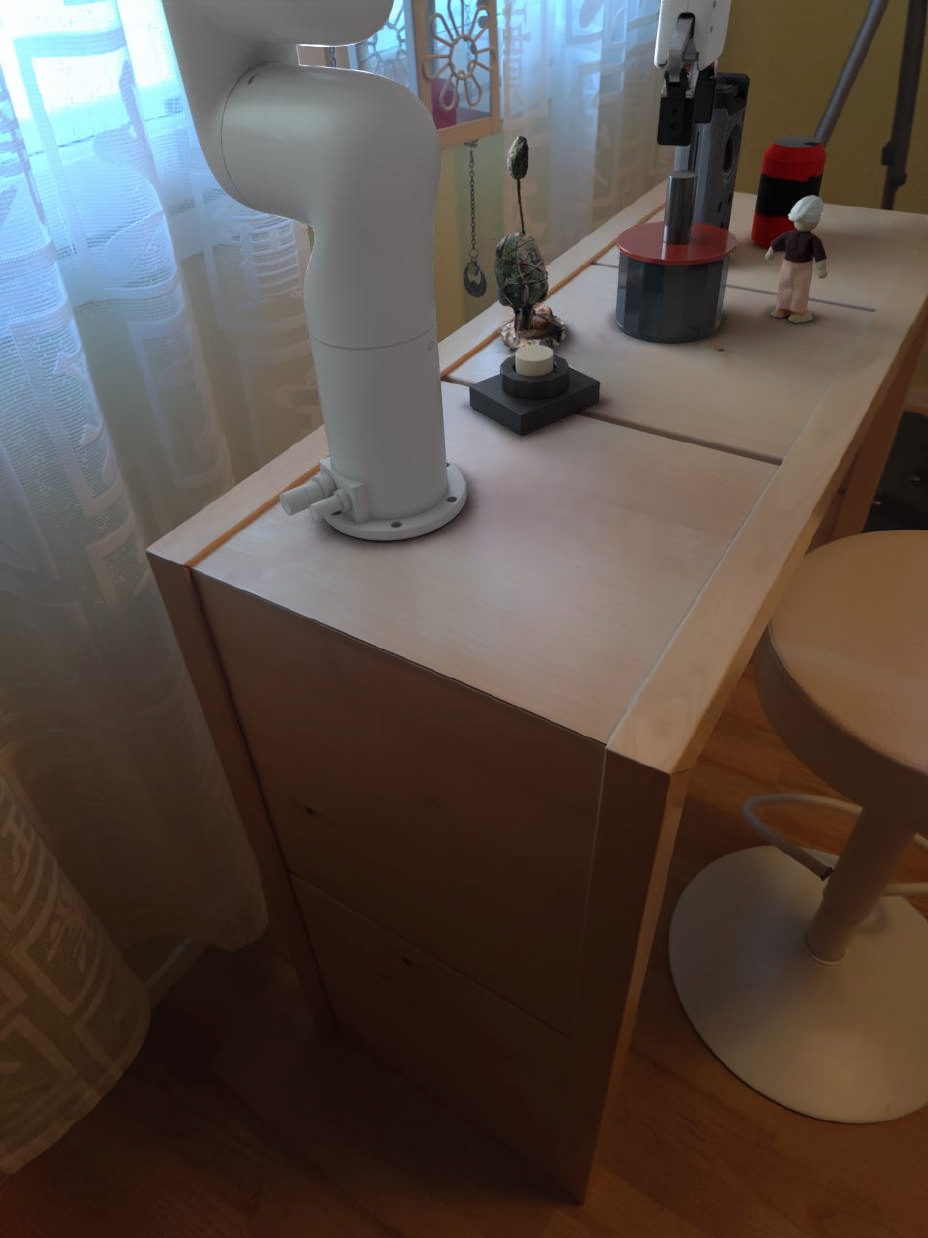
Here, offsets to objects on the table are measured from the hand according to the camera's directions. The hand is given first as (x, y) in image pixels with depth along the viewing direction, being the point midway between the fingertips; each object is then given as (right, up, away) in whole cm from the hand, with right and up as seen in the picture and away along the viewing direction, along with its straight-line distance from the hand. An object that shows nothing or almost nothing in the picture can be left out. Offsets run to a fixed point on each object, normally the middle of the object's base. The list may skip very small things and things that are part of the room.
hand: (684, 133), depth 88 cm
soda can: (+20, +2, +31) cm, 37 cm away
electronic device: (+8, -1, +28) cm, 29 cm away
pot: (+1, -14, +13) cm, 19 cm away
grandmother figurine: (+15, -14, +13) cm, 24 cm away
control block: (-15, -27, -1) cm, 31 cm away
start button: (-15, -24, -3) cm, 29 cm away
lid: (+1, -8, +7) cm, 11 cm away
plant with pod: (-15, -17, +11) cm, 25 cm away
